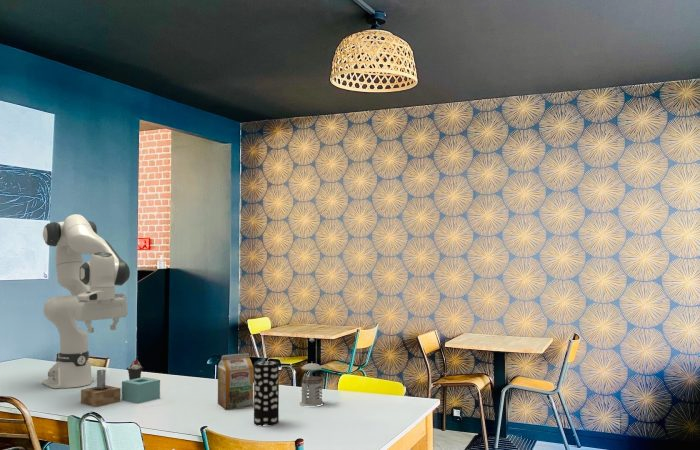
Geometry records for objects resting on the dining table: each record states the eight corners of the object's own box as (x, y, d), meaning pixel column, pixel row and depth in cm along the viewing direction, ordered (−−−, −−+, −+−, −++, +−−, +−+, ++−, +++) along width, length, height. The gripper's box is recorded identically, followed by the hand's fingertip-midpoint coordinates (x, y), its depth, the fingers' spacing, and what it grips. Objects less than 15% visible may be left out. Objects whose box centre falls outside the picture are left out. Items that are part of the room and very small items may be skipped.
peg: (94, 402, 230) (95, 370, 231) (102, 400, 233) (102, 369, 233) (99, 403, 228) (100, 371, 229) (106, 402, 231) (107, 370, 231)
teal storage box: (121, 402, 235) (122, 381, 235) (143, 397, 243) (144, 377, 243) (137, 406, 229) (138, 384, 229) (159, 400, 237) (160, 379, 237)
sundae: (137, 394, 247) (138, 357, 248) (122, 394, 248) (123, 356, 249) (146, 391, 253) (146, 354, 254) (131, 390, 255) (132, 354, 255)
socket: (80, 405, 229) (81, 389, 230) (104, 400, 237) (105, 384, 238) (96, 409, 224) (96, 393, 224) (120, 404, 232) (120, 388, 232)
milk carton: (225, 410, 223) (225, 357, 224) (217, 403, 233) (218, 353, 233) (253, 406, 228) (253, 355, 229) (244, 400, 237) (244, 351, 238)
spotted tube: (254, 419, 210) (255, 361, 211) (278, 418, 211) (279, 360, 212) (252, 426, 202) (253, 365, 203) (278, 425, 203) (278, 365, 203)
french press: (328, 401, 235) (328, 336, 236) (317, 409, 224) (317, 340, 225) (305, 399, 238) (305, 335, 239) (292, 407, 227) (292, 339, 228)
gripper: (121, 293, 243) (121, 327, 242) (73, 296, 226) (72, 333, 225) (131, 293, 239) (130, 328, 239) (82, 296, 223) (82, 334, 222)
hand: (102, 331), depth 232 cm, fingers open, 8 cm apart
